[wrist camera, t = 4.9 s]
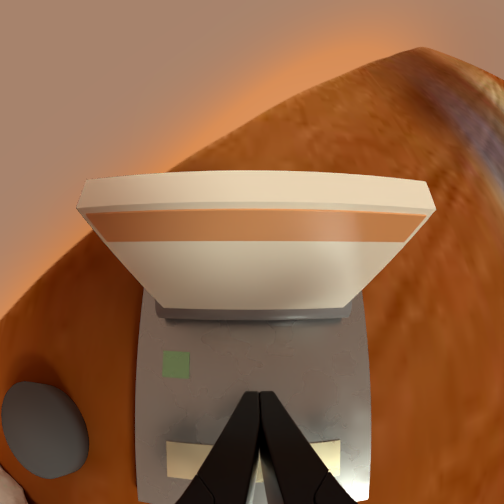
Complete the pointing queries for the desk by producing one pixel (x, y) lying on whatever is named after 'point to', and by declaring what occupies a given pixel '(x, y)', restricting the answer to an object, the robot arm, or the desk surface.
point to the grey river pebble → (44, 429)
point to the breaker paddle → (254, 238)
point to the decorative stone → (10, 490)
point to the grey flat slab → (249, 379)
